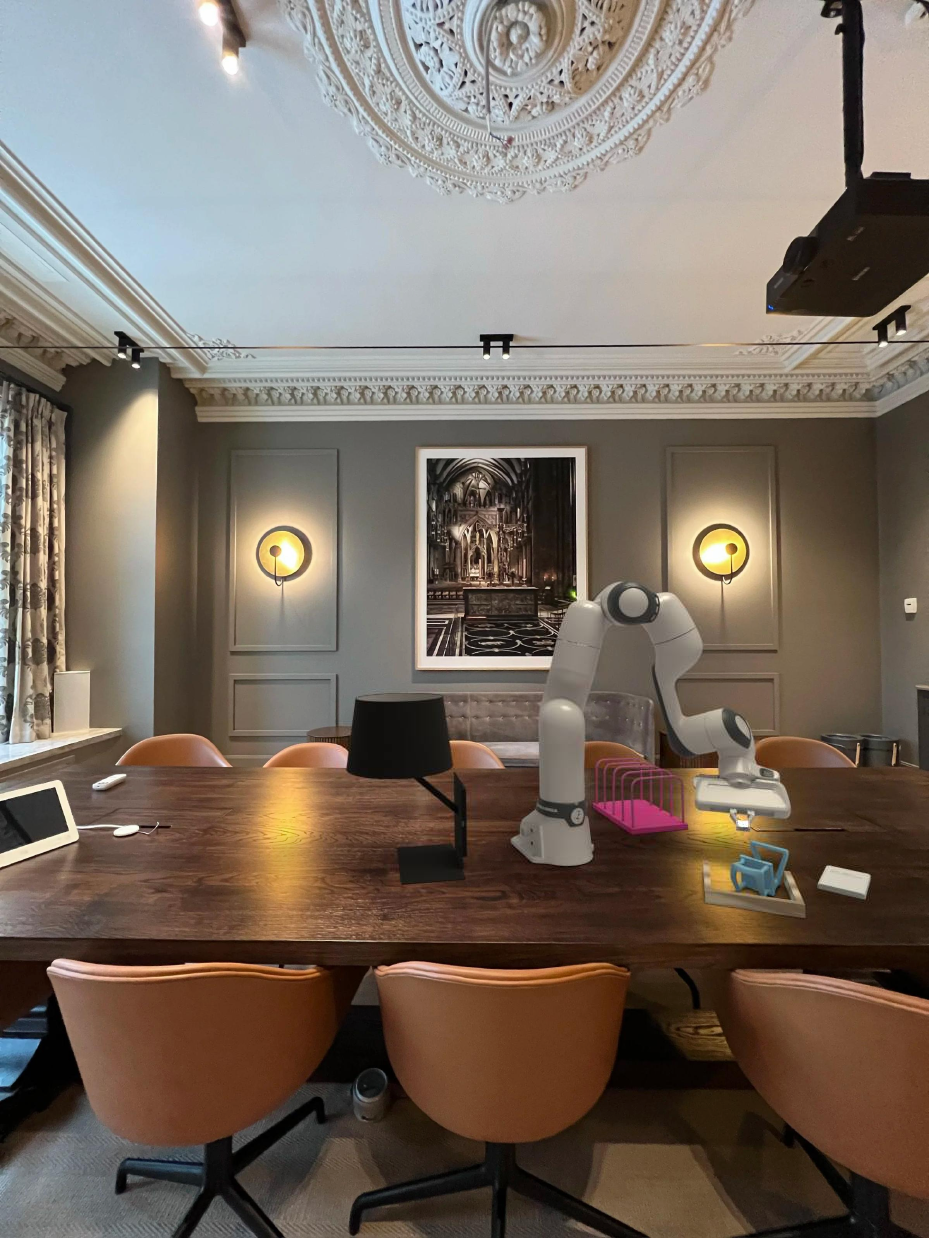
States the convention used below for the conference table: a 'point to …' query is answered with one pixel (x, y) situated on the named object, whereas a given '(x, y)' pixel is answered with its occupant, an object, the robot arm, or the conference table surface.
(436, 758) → the table lamp
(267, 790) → the conference table surface
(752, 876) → the chair
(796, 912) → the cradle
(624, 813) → the file sorter
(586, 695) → the robot arm
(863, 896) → the external hard drive
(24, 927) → the conference table surface
